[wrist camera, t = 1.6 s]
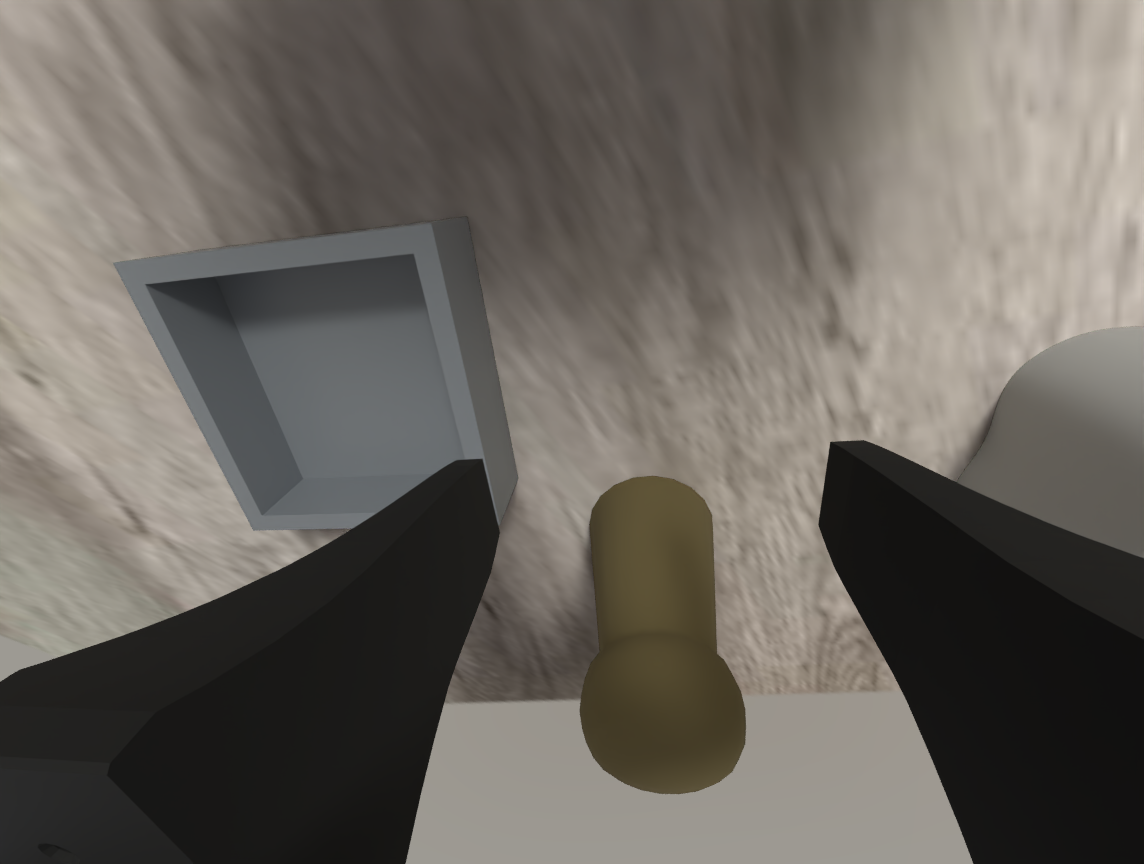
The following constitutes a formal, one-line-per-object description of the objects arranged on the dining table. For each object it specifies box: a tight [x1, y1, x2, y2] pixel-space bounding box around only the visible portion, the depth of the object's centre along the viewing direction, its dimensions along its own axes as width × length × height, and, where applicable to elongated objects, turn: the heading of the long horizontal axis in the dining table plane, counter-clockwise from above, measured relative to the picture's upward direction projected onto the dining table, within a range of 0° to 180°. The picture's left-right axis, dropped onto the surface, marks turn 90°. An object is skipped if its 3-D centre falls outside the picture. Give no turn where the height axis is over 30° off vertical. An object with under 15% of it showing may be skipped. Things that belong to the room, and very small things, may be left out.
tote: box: [113, 217, 518, 531], centre depth 20 cm, size 12×12×4 cm
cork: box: [580, 476, 746, 794], centre depth 19 cm, size 6×6×11 cm
